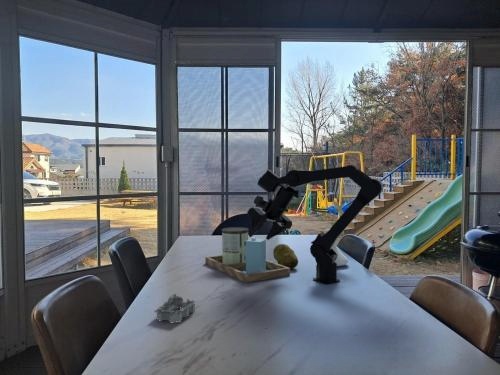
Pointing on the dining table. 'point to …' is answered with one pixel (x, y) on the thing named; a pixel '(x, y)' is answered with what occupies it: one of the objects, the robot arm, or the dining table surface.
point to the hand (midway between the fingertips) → (258, 237)
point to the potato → (285, 256)
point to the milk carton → (255, 255)
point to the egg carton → (175, 309)
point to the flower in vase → (341, 258)
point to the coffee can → (234, 244)
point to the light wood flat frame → (234, 268)
